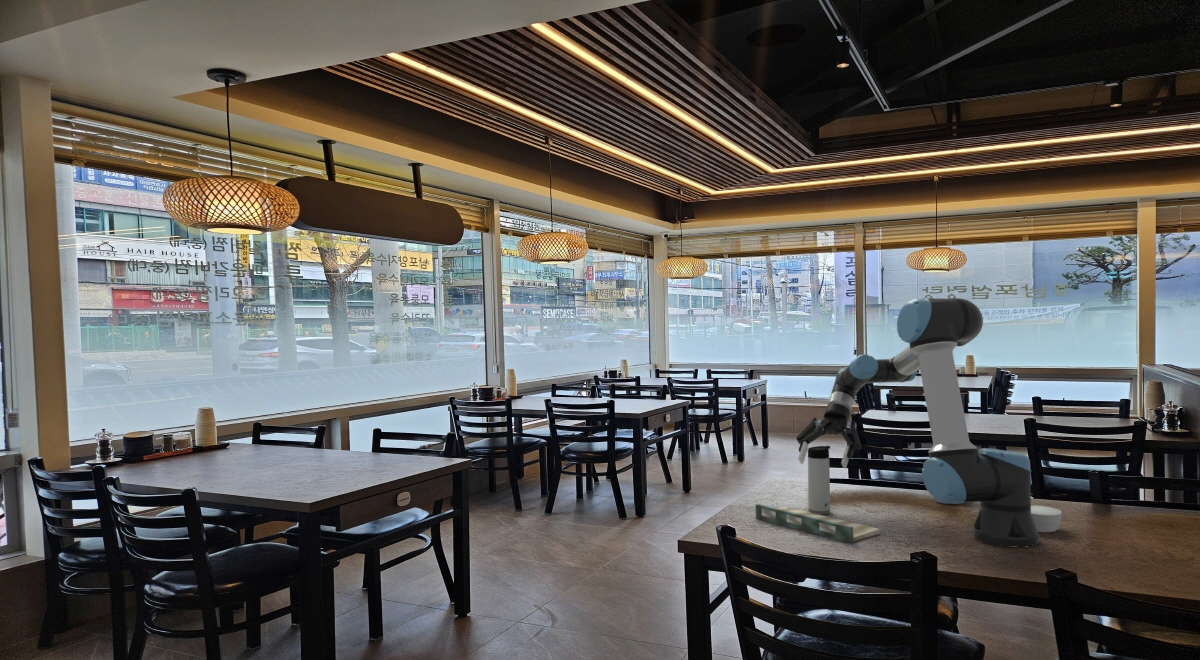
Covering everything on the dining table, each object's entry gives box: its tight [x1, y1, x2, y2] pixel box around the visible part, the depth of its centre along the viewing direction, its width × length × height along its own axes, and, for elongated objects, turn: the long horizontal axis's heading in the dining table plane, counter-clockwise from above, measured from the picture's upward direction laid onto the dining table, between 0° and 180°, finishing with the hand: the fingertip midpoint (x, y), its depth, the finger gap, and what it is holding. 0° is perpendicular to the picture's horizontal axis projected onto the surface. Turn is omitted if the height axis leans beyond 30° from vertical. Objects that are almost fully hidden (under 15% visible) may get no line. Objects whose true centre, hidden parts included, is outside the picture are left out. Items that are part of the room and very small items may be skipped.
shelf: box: [755, 503, 881, 543], centre depth 207 cm, size 32×13×4 cm, turn 37°
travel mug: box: [807, 445, 831, 516], centre depth 222 cm, size 6×7×20 cm
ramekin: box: [1031, 504, 1063, 532], centre depth 201 cm, size 11×11×5 cm
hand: (821, 463), depth 225 cm, fingers open, 13 cm apart
